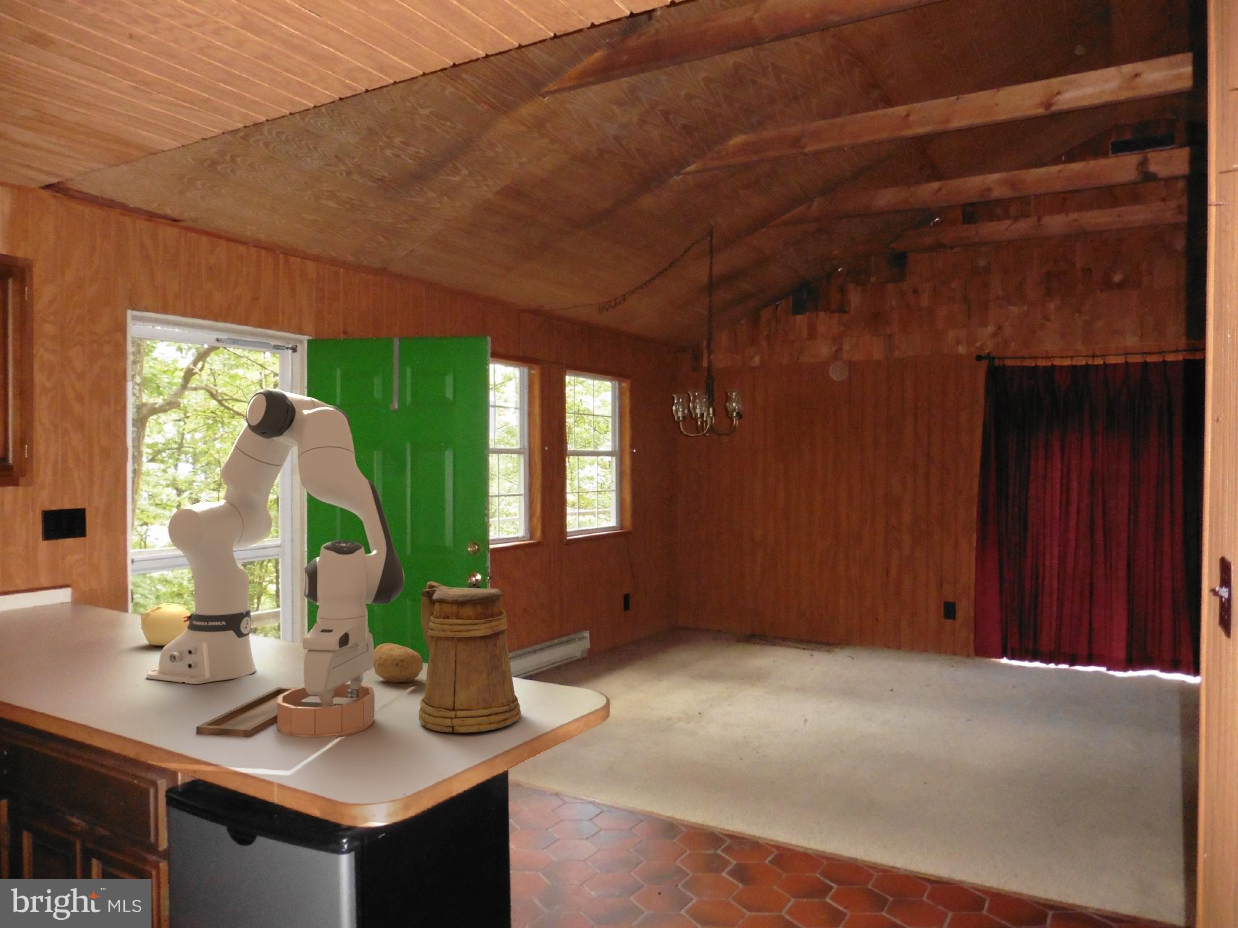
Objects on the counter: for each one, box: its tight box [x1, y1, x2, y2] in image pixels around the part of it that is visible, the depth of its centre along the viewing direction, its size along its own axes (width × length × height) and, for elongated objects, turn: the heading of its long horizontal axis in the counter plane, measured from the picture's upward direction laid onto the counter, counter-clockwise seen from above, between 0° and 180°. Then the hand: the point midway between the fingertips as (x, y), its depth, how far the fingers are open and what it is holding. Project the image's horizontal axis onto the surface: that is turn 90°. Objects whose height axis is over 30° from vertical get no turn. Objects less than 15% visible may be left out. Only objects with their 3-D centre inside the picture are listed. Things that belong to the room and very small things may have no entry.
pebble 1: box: [300, 696, 323, 707], centre depth 152 cm, size 4×4×4 cm
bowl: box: [276, 682, 376, 739], centre depth 151 cm, size 17×17×6 cm
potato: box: [372, 642, 424, 684], centre depth 181 cm, size 10×14×8 cm
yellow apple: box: [140, 602, 192, 646], centre depth 216 cm, size 11×12×11 cm
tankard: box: [418, 581, 522, 734], centre depth 156 cm, size 18×24×25 cm
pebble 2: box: [333, 697, 358, 706], centre depth 151 cm, size 4×4×4 cm
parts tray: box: [195, 686, 296, 738], centre depth 156 cm, size 10×26×2 cm, turn 172°
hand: (341, 705), depth 151 cm, fingers open, 8 cm apart
